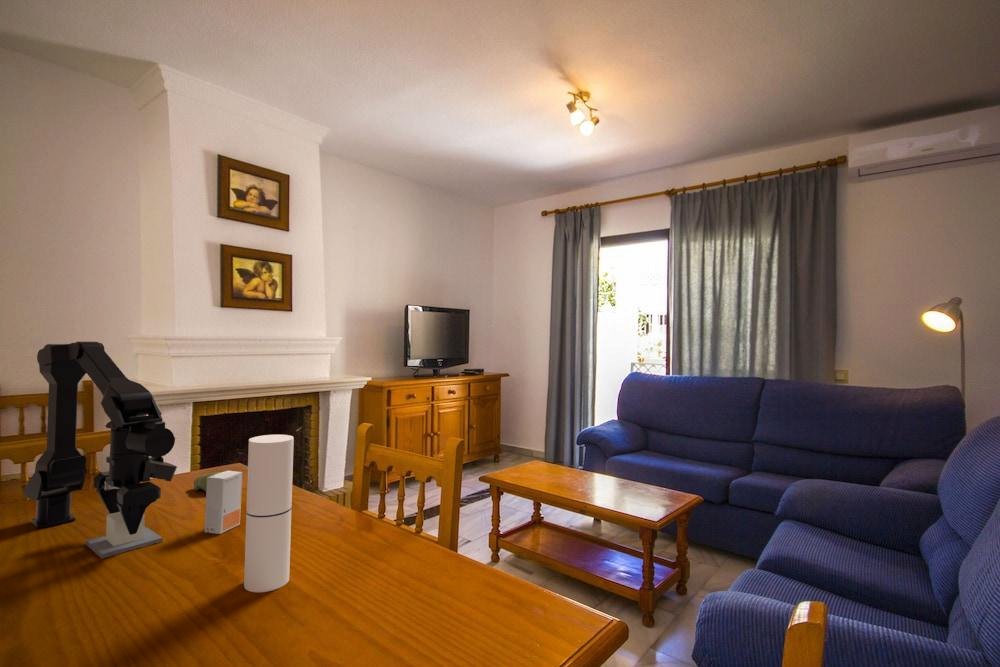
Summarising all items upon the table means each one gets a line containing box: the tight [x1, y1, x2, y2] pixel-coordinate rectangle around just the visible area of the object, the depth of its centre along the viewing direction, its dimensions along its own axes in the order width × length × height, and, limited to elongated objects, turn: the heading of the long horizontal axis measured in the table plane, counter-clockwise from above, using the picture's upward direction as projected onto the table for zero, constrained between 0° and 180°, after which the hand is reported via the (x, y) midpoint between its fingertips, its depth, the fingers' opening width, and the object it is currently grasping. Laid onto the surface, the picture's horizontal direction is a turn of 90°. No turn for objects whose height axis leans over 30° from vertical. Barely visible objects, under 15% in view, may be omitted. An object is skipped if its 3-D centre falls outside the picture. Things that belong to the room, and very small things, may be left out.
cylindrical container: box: [243, 434, 295, 593], centre depth 86 cm, size 7×7×25 cm
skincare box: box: [204, 470, 243, 535], centre depth 109 cm, size 6×4×12 cm
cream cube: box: [105, 512, 145, 546], centre depth 100 cm, size 5×5×5 cm
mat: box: [85, 525, 163, 559], centre depth 100 cm, size 10×10×1 cm
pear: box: [193, 472, 219, 492], centre depth 134 cm, size 6×5×10 cm
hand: (124, 528), depth 100 cm, fingers open, 9 cm apart
